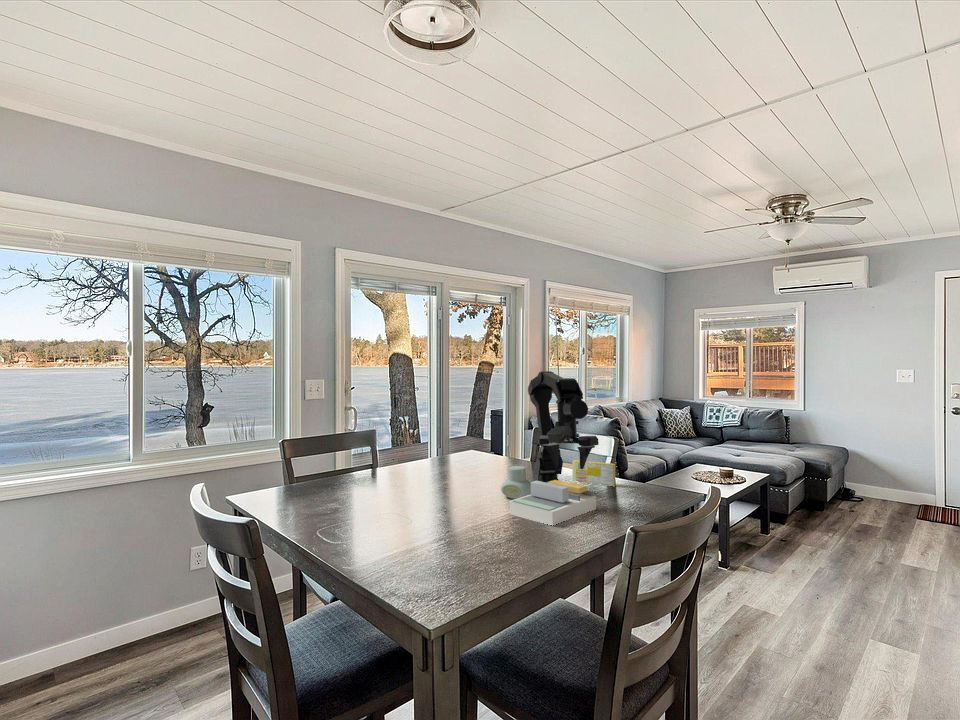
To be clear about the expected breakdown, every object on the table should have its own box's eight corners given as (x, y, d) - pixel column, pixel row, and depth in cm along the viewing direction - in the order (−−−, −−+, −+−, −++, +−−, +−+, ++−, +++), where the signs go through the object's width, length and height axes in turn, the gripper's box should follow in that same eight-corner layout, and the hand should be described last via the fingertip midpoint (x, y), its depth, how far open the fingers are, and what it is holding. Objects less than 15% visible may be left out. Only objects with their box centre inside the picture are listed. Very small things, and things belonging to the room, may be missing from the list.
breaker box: (509, 514, 153) (509, 495, 153) (554, 499, 169) (554, 482, 169) (552, 526, 142) (552, 506, 142) (595, 509, 157) (595, 491, 157)
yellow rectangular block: (547, 486, 163) (547, 481, 163) (555, 484, 166) (555, 479, 166) (579, 493, 155) (579, 488, 155) (586, 490, 157) (586, 486, 157)
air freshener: (536, 496, 174) (536, 466, 173) (527, 502, 166) (527, 471, 166) (507, 492, 178) (507, 463, 178) (497, 498, 171) (497, 468, 171)
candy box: (616, 486, 186) (615, 463, 186) (614, 487, 184) (614, 464, 184) (574, 481, 195) (573, 459, 195) (571, 482, 193) (571, 460, 193)
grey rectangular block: (530, 495, 157) (530, 482, 157) (536, 493, 159) (536, 480, 159) (562, 502, 149) (562, 489, 149) (568, 500, 151) (568, 487, 151)
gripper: (527, 419, 161) (529, 469, 160) (579, 419, 149) (581, 473, 148) (547, 417, 170) (549, 465, 168) (598, 417, 157) (600, 468, 156)
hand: (568, 468), depth 160 cm, fingers open, 9 cm apart
